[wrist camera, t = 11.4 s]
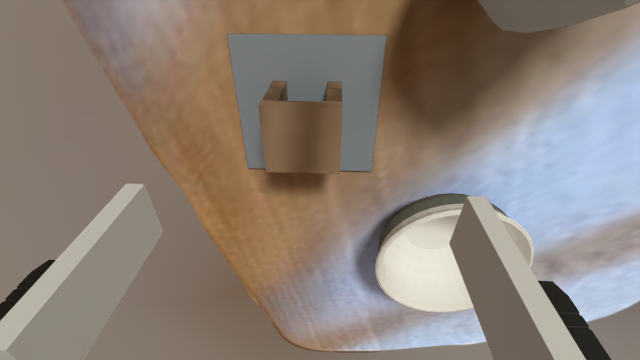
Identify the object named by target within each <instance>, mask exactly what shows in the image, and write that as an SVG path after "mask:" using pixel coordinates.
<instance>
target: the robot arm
mask: <svg viewBox="0 0 640 360" xmlns="http://www.w3.org/2000/svg"><path fill="white" fill-rule="evenodd" d="M162 233H163V229H162V227H161V224H160V222H159V219H158V217H157V214H156V212H155V209H154V207H153V204H152V202H151V200H150V197H149V195H148V192H147V190H146V187H145V185H144V184H125V185H124V186H123V188H122V189H121V190H120V191H119V192H118V193H117V194H116V195H115V196H114V197H113V199H112V200H111V201H110V202H109V203H108V204H107V205H106V206H105V207H104V208H103V209H102V210H101V212H100V213H99V214H98V215H97V216H96V217H95V218H94V219H93V220H92V221H91V223H90V224H89V225H88V226H87V227H86V228H85V229H84V230H83V231H82V232H81V233H80V234H79V236H78V237H77V238H76V239H75V240H74V241H73V242H72V243H71V244H70V246H69V247H68V248H67V249H66V250H65V251H64V252H63V253H62V254H61V255H60V256H59V257H58V259H57V260H48V261H47V262H45V263H44V264H42V265H41V266H39V267H38V268H37V269H35V270H33V271H32V272H31V273H30V274H29V275H28V276H27V277H26V278H25V279H24V280H23V281H22V282H21V283H20V284H19V285H18V286H17V289H16V290H13V292H12V293H11V294H10V295H9V296H8V297H7V298H6V301H5V302H2V303H1V304H0V360H84V358H85V357H86V355H87V354H88V352H89V350H90V349H91V347H92V345H93V344H94V342H95V341H96V339H97V337H98V336H99V334H100V333H101V331H102V329H103V328H104V326H105V325H106V323H107V321H108V320H109V318H110V317H111V315H112V313H113V312H114V310H115V308H116V307H117V305H118V304H119V302H120V301H121V299H122V297H123V296H124V294H125V293H126V291H127V289H128V288H129V286H130V285H131V283H132V281H133V280H134V278H135V277H136V275H137V273H138V272H139V270H140V269H141V267H142V265H143V264H144V262H145V260H146V259H147V257H148V256H149V254H150V252H151V251H152V249H153V248H154V246H155V244H156V243H157V241H158V240H159V238H160V236H161V235H162ZM449 244H450V247H451V250H452V252H453V255H454V257H455V260H456V262H457V265H458V268H459V270H460V273H461V275H462V278H463V281H464V283H465V286H466V288H467V291H468V294H469V296H470V299H471V301H472V304H473V307H474V309H475V312H476V314H477V317H478V319H479V322H480V325H481V327H482V330H483V332H484V335H485V338H486V340H487V343H488V345H489V348H490V351H491V353H492V356H493V358H494V360H611V359H610V357H609V356H608V354H607V353H606V351H605V350H604V348H603V347H602V345H601V344H600V342H599V341H598V339H597V338H596V336H595V335H594V333H593V332H592V330H590V329H589V328H588V324H587V323H586V321H585V320H584V318H583V317H582V316H580V315H579V311H578V310H577V308H576V307H575V305H574V304H573V302H572V301H571V299H570V298H569V296H568V295H567V294H566V293H565V292H563V291H562V290H561V289H560V288H559V287H558V286H557V285H556V284H555V283H553V282H552V281H538V280H537V279H536V277H535V276H534V274H533V272H532V271H531V269H530V267H529V266H528V264H527V262H526V261H525V259H524V258H523V256H522V254H521V253H520V251H519V249H518V248H517V246H516V244H515V243H514V241H513V240H512V238H511V236H510V235H509V233H508V231H507V230H506V228H505V226H504V225H503V223H502V222H501V220H500V218H499V217H498V215H497V213H496V212H495V210H494V209H493V207H492V205H491V204H490V202H489V200H488V199H487V197H478V196H467V197H466V200H465V203H464V205H463V208H462V211H461V213H460V216H459V219H458V221H457V224H456V227H455V229H454V232H453V235H452V237H451V240H450V243H449Z"/></svg>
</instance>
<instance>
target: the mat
mask: <svg viewBox="0 0 640 360" xmlns="http://www.w3.org/2000/svg"><path fill="white" fill-rule="evenodd" d="M227 37H228V44H229V50H230V56H231V63H232V69H233V76H234V82H235V88H236V95H237V101H238V107H239V114H240V120H241V126H242V133H243V139H244V146H245V152H246V158H247V165H248V168H263V169H266V168H265V159H264V151H263V142H262V134H261V126H260V117H259V109H258V106H259V104H260V102H261V101H262V99H263V97H264V95H265V94H266V92H267V90H268V88H269V87H270V85H271V83H272V81H287V96H288V101H326V97H327V87H328V81H337V82H342V105H343V110H342V133H341V157H340V171H372V162H373V153H374V144H375V135H376V126H377V117H378V108H379V99H380V90H381V81H382V72H383V64H384V55H385V46H386V37H387V36H386V35H307V34H227Z"/></svg>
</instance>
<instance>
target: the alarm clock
mask: <svg viewBox="0 0 640 360" xmlns="http://www.w3.org/2000/svg"><path fill="white" fill-rule="evenodd" d="M478 2H479V3H480V5H481V6H482V7H483V9H484V10H485V12H486V13H487V15H488V16H489V18H490V19H491V21H492V22H494V23H495V24H496V25H497V26H498V27H499V28H500V29H501V30H505V31H513V32H521V33H531V32H537V31H543V30H549V29H556V28H562V27H567V26H570V25H574V24H577V23H580V22H583V21H586V20H589V19H592V18H596V17H599V16H602V15H605V14H608V13H611V12H614V11H618V10H621V9H624V8H627V7H630V6H632V5H634V4H637V3H639V2H640V0H478Z"/></svg>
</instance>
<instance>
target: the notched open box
mask: <svg viewBox="0 0 640 360" xmlns="http://www.w3.org/2000/svg"><path fill="white" fill-rule="evenodd" d="M258 109H259V117H260V126H261V134H262V142H263V151H264V159H265V168H266V172H281V173H318V174H340V157H341V133H342V110H343V105H342V82H337V81H328V87H327V97H326V101H288V96H287V81H272V83H271V85H270V87H269V88H268V90H267V92H266V94H265V95H264V97H263V99H262V101H261V102H260V104H259V106H258Z"/></svg>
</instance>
